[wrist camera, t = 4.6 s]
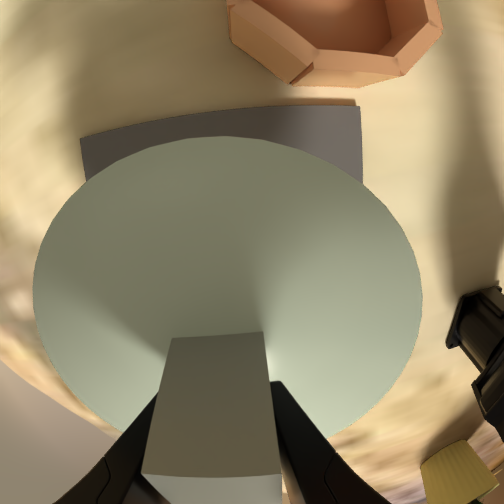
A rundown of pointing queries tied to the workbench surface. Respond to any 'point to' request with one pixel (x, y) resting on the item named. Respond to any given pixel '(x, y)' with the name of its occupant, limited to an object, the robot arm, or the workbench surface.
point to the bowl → (335, 38)
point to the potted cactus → (456, 476)
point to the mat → (242, 134)
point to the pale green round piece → (225, 305)
